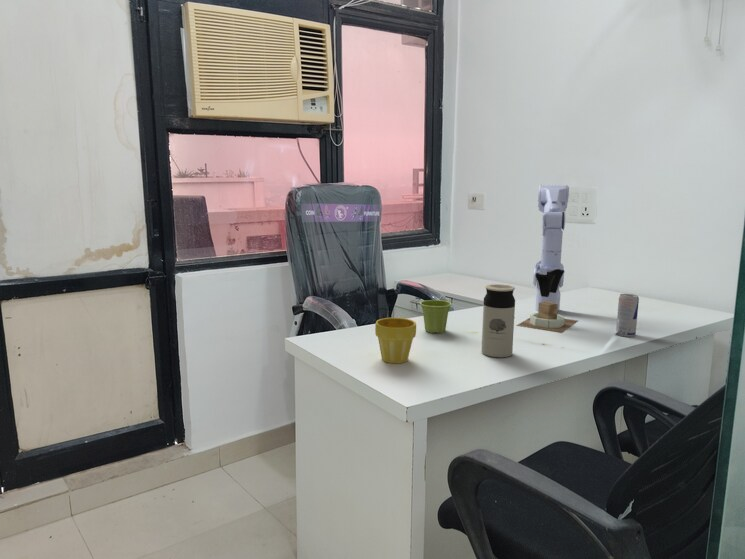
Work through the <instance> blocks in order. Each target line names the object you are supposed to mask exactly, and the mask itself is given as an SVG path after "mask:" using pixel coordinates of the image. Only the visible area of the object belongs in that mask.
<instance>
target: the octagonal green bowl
mask: <svg viewBox="0 0 745 559" xmlns="http://www.w3.org/2000/svg"><path fill="white" fill-rule="evenodd" d="M529 318H530V323H531V324H533V325H535V326H539V327H545V328H560V327H562V326H563V325H564V319H566V318H565V316H564V315H561V314H558V313H557V319H552V320H548V319H541V318H538V312H534V313H532V314H530V316H529Z"/></svg>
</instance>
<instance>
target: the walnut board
mask: <svg viewBox="0 0 745 559" xmlns="http://www.w3.org/2000/svg"><path fill="white" fill-rule="evenodd" d="M578 322H579V320H577V319H569V318H565V319H564V325H563V326H562V327H560V328H545V327H539V326H535V325H533V324H531V323H530V317H529V318H528V317H527V319H525V320H523V321H521V322H520V323H518V324H516V325H515V326H516V327H521V328H522V327H523V328H528V329H534V330H540V331H545V332H551V333H552V332H553V333H559V334H563V333H564V332H565V331H566V330H568V329H569V328H571V327H572V326H574V325H575V324H576V323H578Z"/></svg>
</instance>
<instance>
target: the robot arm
mask: <svg viewBox="0 0 745 559" xmlns="http://www.w3.org/2000/svg"><path fill="white" fill-rule="evenodd" d="M569 196H570V187H569V185H568V184H565V185H559V184H558V185H557V184H555V185H551V184H550V185H549V184H547V185H545V184H540V185H539V186H538V197H537V198H538V200H537V204H538V205H537V208H538V211H539V212H541V213H542V221H541V229H542V234H541V236H542V242H541V257H540V259H539V261H537V262H535V264H534V269H533V281H532V285H533V286H534V287H536V292H535V293H536V295H535V311H536V312H538V309H539V303H540V302H547V301H549V302H553V303H557V304H558V310H557V311H562V309H560V307H561V291H560V288H562V287H563V286H564V280H565V278H564V277H565V270H564V269H565V266H564V265H563V263H562V262H561V261H562V247H563V233H564V232H563V231H565V225H566V211H567V208H568V203H569V198H570V197H569Z"/></svg>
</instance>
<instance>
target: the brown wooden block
mask: <svg viewBox="0 0 745 559" xmlns="http://www.w3.org/2000/svg"><path fill="white" fill-rule="evenodd" d="M558 311H559V310H558V304H557V303H553V302H549V301H547V302H540V303H539V309H538V311H537V313H538V318H541V319H548V320H552V319H557V314H558Z"/></svg>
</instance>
